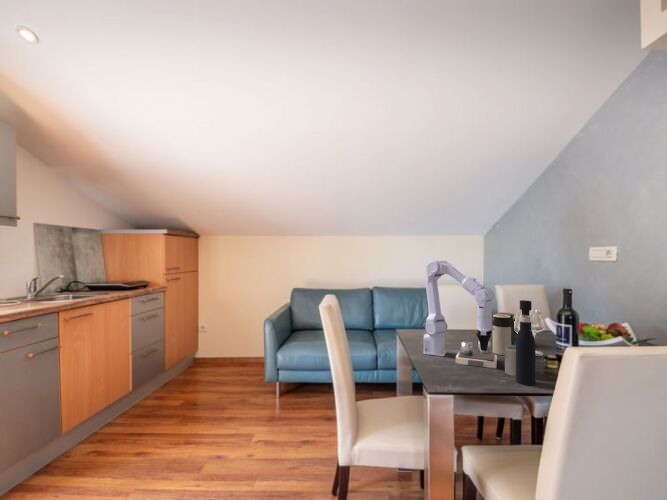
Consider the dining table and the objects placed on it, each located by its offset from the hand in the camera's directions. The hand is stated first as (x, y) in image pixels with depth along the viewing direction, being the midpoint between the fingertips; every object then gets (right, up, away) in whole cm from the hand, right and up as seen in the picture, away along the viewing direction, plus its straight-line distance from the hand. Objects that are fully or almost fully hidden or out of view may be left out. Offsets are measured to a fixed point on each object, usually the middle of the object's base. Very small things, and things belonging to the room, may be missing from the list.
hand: (484, 348), depth 152 cm
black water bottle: (+7, -7, -20) cm, 22 cm away
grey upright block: (+10, -7, -8) cm, 15 cm away
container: (+27, -8, +36) cm, 46 cm away
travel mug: (+16, -8, +19) cm, 26 cm away
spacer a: (-5, -4, +7) cm, 9 cm away
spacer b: (0, -2, 0) cm, 2 cm away
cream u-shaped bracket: (-1, -7, +5) cm, 9 cm away
